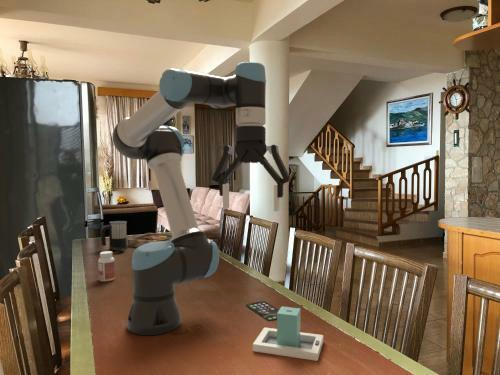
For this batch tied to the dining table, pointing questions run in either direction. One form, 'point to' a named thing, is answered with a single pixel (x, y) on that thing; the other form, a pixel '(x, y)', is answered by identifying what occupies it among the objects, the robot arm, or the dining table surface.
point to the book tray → (139, 240)
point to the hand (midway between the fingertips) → (250, 209)
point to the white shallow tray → (306, 349)
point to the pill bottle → (106, 266)
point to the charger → (288, 326)
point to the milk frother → (115, 235)
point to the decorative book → (157, 238)
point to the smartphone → (264, 310)
